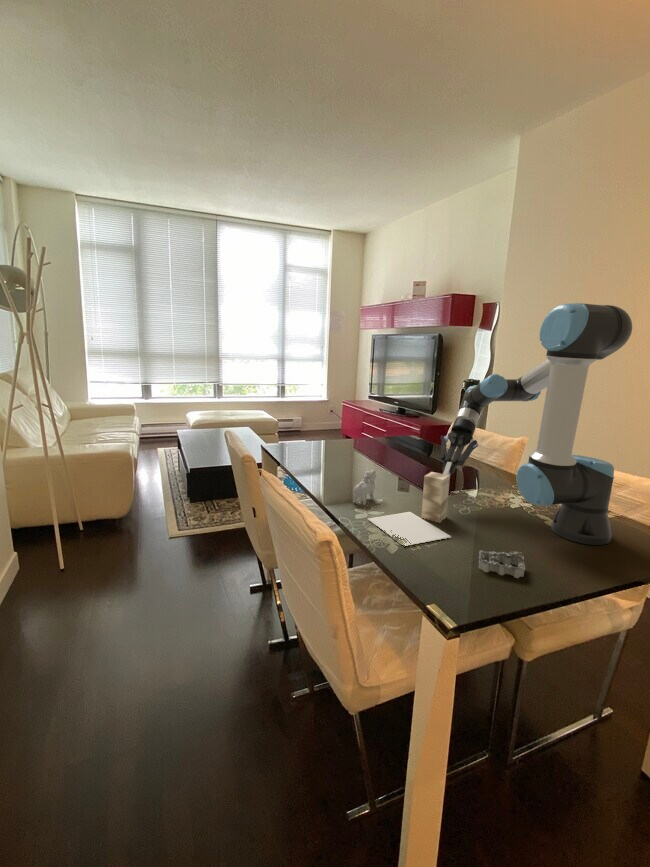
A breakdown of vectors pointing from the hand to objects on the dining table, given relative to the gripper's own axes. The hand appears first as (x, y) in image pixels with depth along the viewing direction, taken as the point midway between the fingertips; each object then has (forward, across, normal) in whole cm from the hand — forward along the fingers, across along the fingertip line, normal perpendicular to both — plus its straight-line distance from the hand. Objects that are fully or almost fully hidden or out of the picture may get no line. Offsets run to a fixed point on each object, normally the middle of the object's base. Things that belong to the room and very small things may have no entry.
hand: (444, 480), depth 139 cm
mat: (+22, +3, +7) cm, 23 cm away
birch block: (+13, 0, -2) cm, 13 cm away
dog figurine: (+13, +25, -2) cm, 29 cm away
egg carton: (+28, -26, +12) cm, 39 cm away
